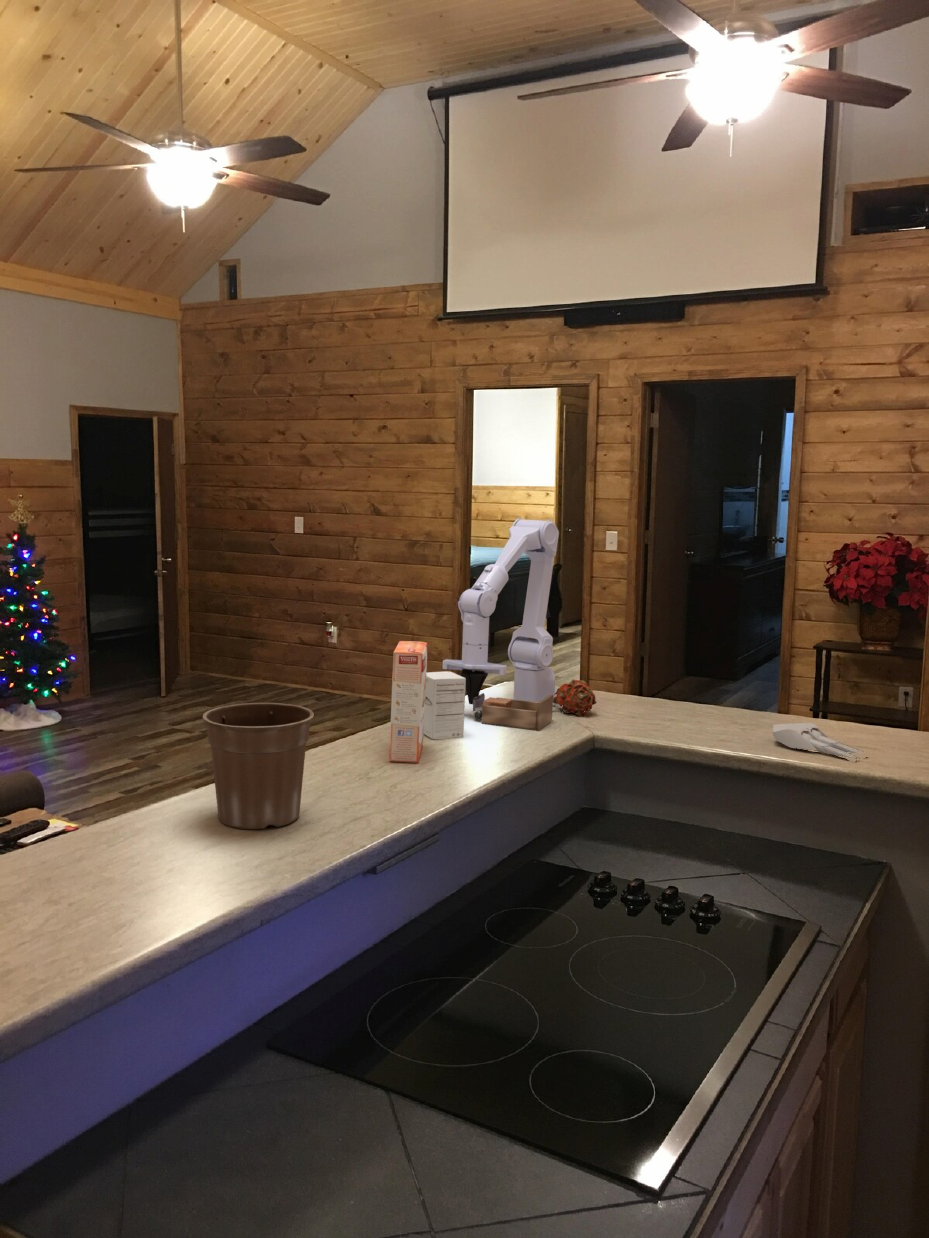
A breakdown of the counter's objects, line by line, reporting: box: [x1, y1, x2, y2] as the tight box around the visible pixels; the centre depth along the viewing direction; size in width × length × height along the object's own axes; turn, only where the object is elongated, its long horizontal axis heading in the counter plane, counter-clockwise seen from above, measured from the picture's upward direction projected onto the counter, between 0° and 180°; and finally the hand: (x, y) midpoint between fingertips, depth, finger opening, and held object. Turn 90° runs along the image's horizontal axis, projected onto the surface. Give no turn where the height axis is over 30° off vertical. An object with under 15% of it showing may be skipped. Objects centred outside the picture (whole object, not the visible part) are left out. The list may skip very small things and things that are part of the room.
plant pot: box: [202, 702, 315, 830], centre depth 151 cm, size 16×16×16 cm
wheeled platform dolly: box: [472, 692, 514, 720], centre depth 222 cm, size 8×8×5 cm
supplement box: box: [423, 671, 466, 740], centre depth 207 cm, size 7×7×13 cm
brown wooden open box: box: [481, 695, 553, 732], centre depth 220 cm, size 13×10×6 cm
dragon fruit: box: [553, 679, 597, 716], centre depth 233 cm, size 8×8×12 cm
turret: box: [772, 722, 866, 760], centre depth 207 cm, size 10×20×5 cm, turn 45°
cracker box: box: [388, 640, 428, 764], centre depth 190 cm, size 14×6×21 cm, turn 179°
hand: (472, 703), depth 224 cm, fingers closed
